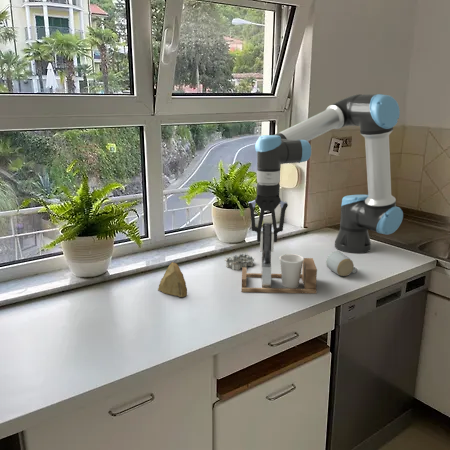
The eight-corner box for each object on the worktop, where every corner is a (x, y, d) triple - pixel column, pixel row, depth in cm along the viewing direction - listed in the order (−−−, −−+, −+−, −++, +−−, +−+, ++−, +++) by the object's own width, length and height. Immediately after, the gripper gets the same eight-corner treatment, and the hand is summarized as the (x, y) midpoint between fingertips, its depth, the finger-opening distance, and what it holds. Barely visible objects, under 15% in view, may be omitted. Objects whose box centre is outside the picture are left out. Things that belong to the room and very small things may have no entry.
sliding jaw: (269, 278, 167) (271, 220, 161) (270, 289, 157) (272, 228, 151) (261, 277, 167) (262, 219, 161) (261, 289, 157) (263, 227, 151)
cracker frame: (311, 277, 168) (312, 256, 166) (316, 293, 155) (317, 271, 152) (242, 276, 169) (242, 255, 167) (241, 291, 156) (241, 269, 154)
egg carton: (234, 272, 174) (234, 261, 173) (222, 266, 180) (222, 256, 179) (256, 265, 180) (256, 255, 179) (244, 260, 186) (244, 250, 185)
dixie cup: (285, 291, 157) (286, 263, 154) (274, 282, 164) (275, 255, 161) (307, 287, 160) (308, 260, 157) (294, 278, 167) (295, 252, 164)
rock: (196, 289, 152) (188, 275, 161) (181, 273, 148) (173, 259, 156) (170, 310, 152) (163, 295, 161) (154, 295, 148) (148, 280, 156)
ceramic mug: (337, 278, 167) (339, 258, 165) (324, 270, 174) (326, 251, 172) (361, 275, 170) (363, 255, 168) (348, 267, 178) (350, 248, 176)
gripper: (243, 185, 149) (243, 253, 156) (293, 185, 148) (291, 254, 155) (244, 180, 156) (243, 246, 163) (292, 181, 156) (289, 247, 162)
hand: (266, 250), depth 159 cm, fingers closed on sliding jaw, 3 cm apart
